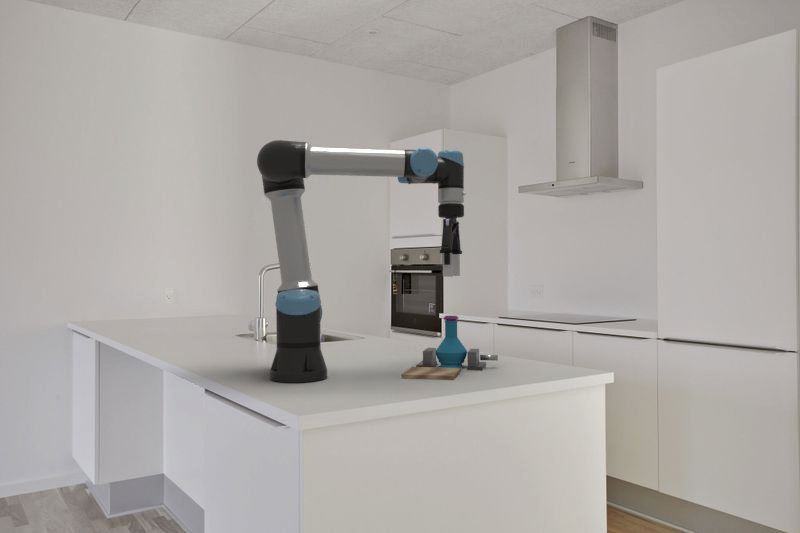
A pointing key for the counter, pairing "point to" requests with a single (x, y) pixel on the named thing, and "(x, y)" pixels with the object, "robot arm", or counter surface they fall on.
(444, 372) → the pad
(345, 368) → the counter surface
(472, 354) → the vise
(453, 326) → the blue vase
